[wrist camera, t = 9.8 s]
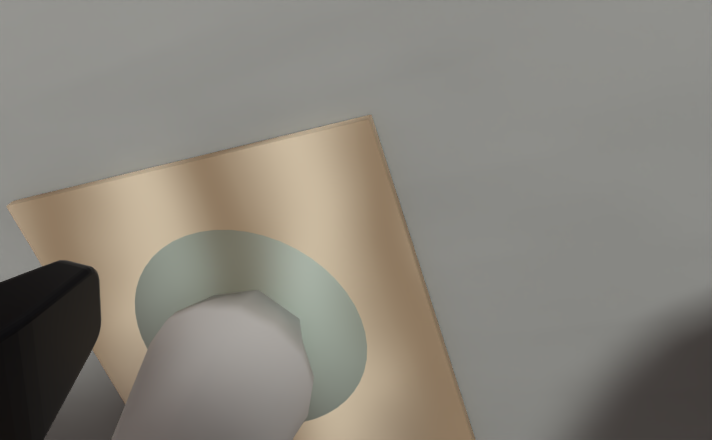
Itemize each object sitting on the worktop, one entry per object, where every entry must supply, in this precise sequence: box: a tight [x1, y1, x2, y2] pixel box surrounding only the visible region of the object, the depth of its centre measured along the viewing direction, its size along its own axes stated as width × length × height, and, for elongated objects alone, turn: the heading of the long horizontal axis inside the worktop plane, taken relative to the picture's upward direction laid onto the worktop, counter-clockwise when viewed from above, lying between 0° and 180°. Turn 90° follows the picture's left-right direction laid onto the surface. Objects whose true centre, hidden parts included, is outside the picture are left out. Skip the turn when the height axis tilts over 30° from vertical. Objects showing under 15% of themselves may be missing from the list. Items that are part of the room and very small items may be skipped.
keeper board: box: [7, 115, 475, 440], centre depth 25 cm, size 14×14×1 cm
